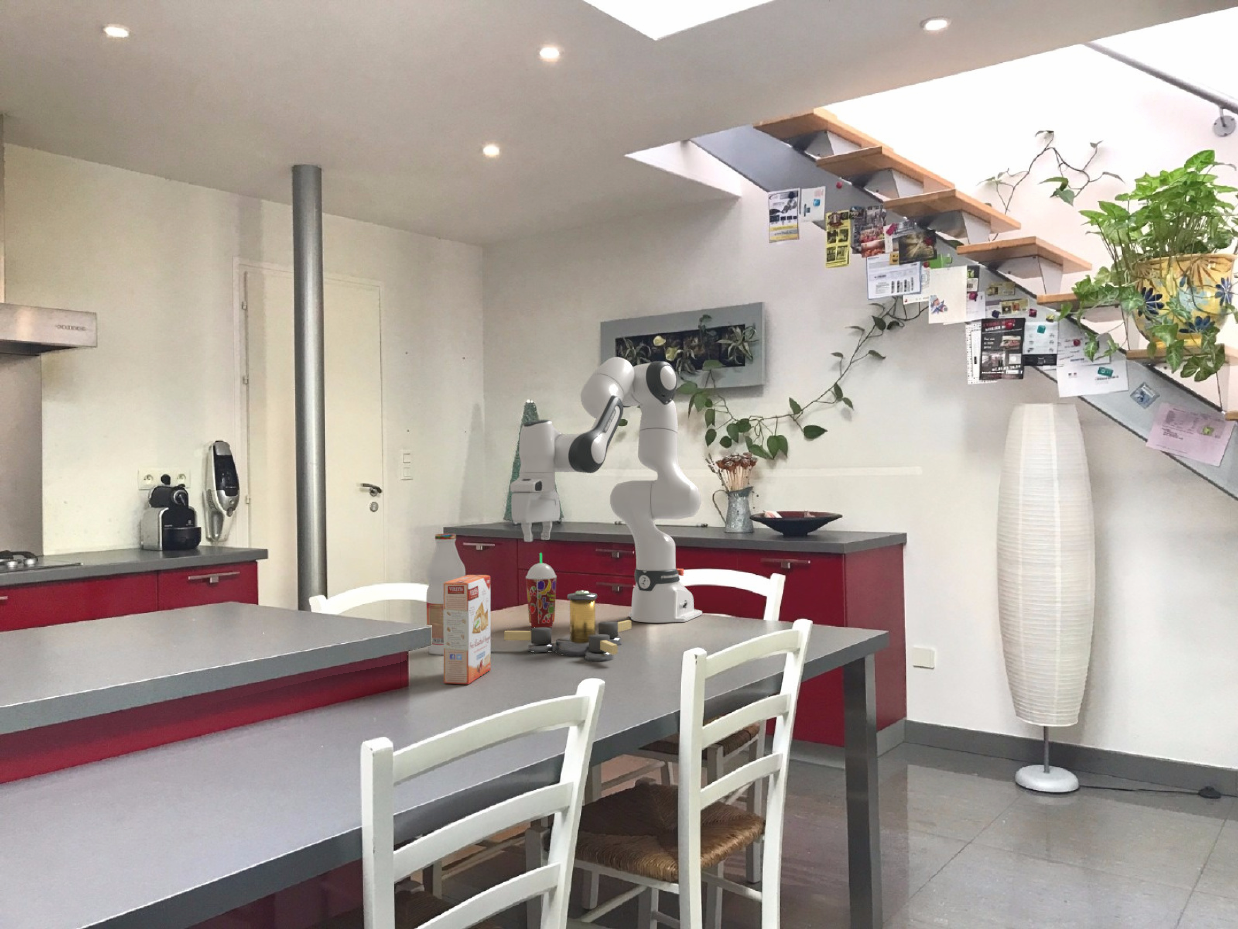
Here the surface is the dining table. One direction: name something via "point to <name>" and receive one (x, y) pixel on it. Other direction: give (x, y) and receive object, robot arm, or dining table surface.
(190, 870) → the dining table surface
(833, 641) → the dining table surface
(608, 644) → the knob
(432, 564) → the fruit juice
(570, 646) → the tribrach
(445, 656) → the cracker box
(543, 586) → the smoothie
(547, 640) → the knob
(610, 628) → the lever knob
